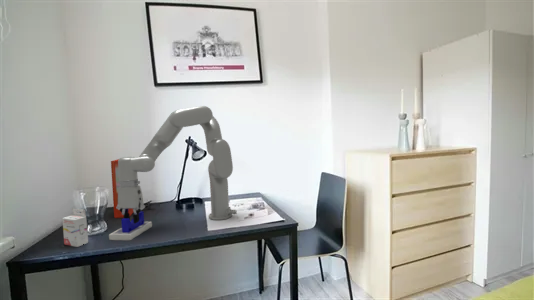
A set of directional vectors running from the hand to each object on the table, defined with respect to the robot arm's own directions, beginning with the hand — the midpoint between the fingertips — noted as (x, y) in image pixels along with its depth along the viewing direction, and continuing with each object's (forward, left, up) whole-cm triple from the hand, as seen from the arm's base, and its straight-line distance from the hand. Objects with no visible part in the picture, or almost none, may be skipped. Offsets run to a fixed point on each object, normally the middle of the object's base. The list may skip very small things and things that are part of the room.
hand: (131, 222), depth 124 cm
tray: (0, 0, -5) cm, 5 cm away
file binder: (+24, -30, -5) cm, 39 cm away
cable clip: (0, 0, -3) cm, 3 cm away
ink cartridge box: (+17, +13, -5) cm, 22 cm away
